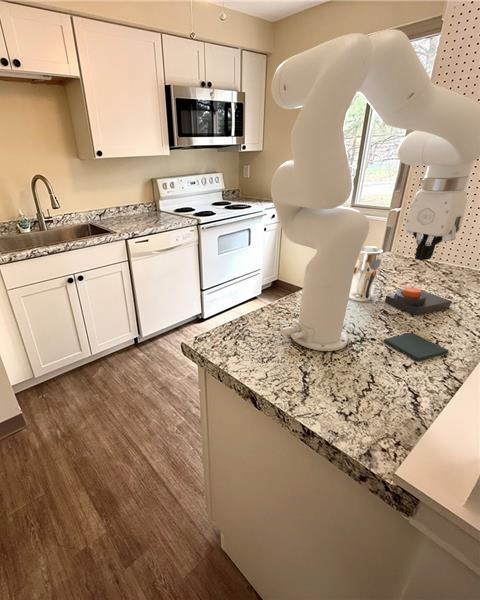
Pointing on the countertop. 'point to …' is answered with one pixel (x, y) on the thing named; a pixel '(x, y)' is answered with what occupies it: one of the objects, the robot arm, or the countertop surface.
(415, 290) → the switch
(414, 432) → the countertop surface
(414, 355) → the mat
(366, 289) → the beer glass
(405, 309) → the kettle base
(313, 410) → the countertop surface
